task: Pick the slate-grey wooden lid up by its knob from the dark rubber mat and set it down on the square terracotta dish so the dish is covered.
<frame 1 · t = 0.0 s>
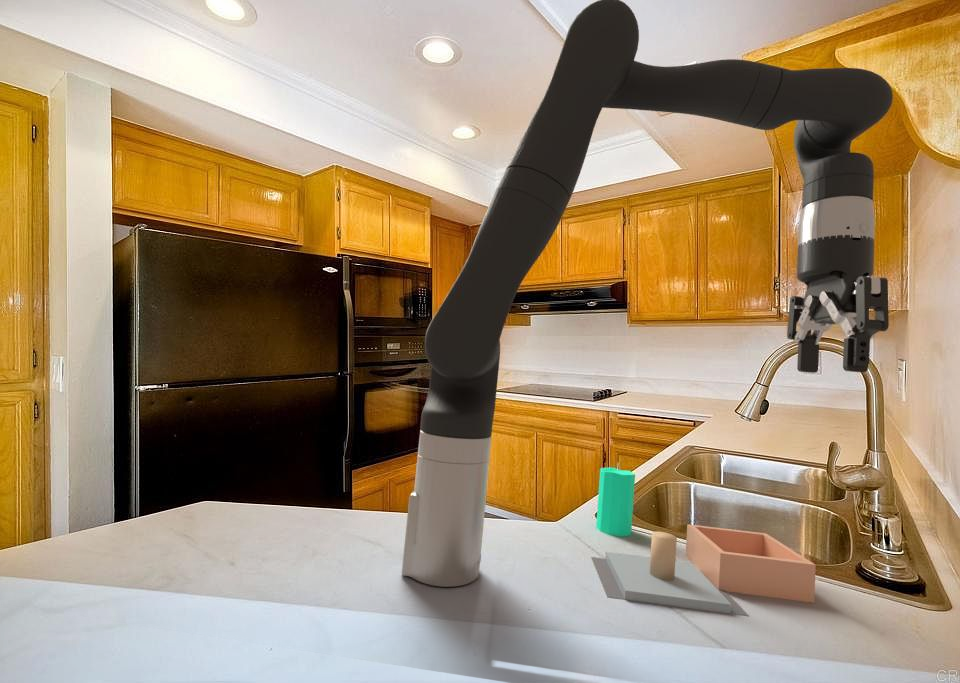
hand: (829, 372, 56), 29 cm above the worktop, tool pointing down, fingers open, 8 cm apart
mat: (661, 586, 59), on the worktop
lid: (661, 583, 59), resting on mat
candle: (613, 533, 79), on the worktop
dish: (743, 579, 64), on the worktop
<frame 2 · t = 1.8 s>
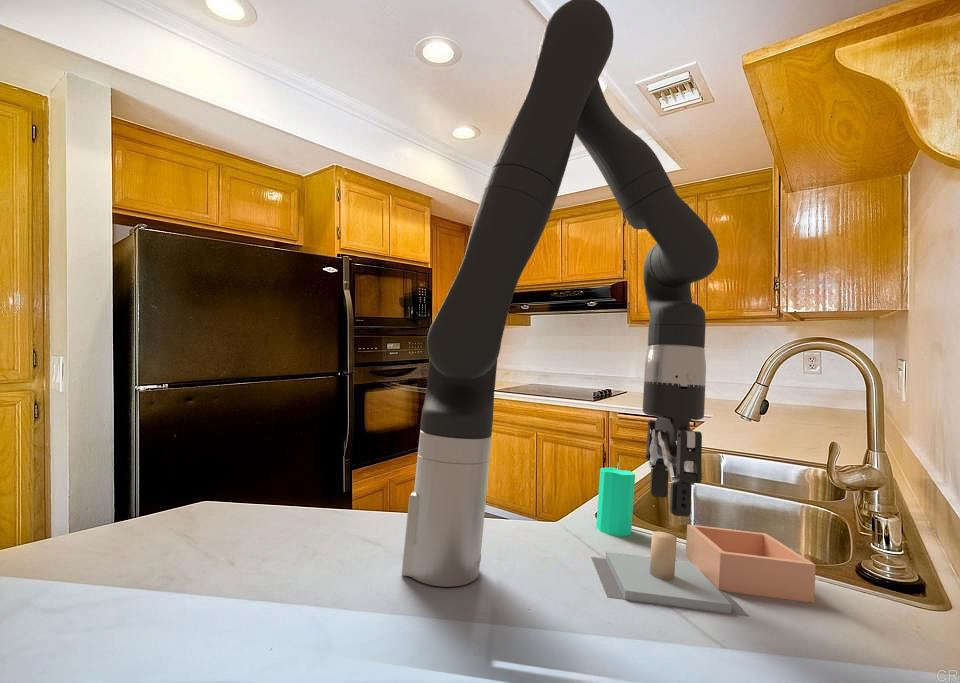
hand: (668, 505, 60), 10 cm above the worktop, tool pointing down, fingers open, 8 cm apart
nothing on the worktop moved.
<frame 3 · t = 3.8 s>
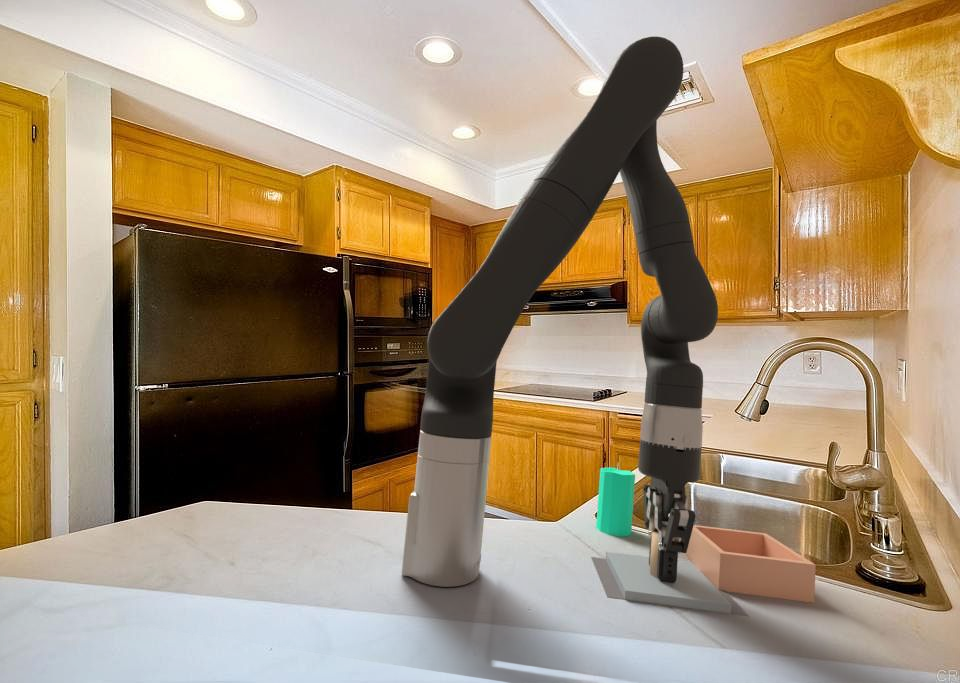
hand: (661, 574, 59), 2 cm above the worktop, tool pointing down, fingers closed on lid, 3 cm apart
lid: (661, 583, 59), resting on mat, touching gripper
everything else where it was.
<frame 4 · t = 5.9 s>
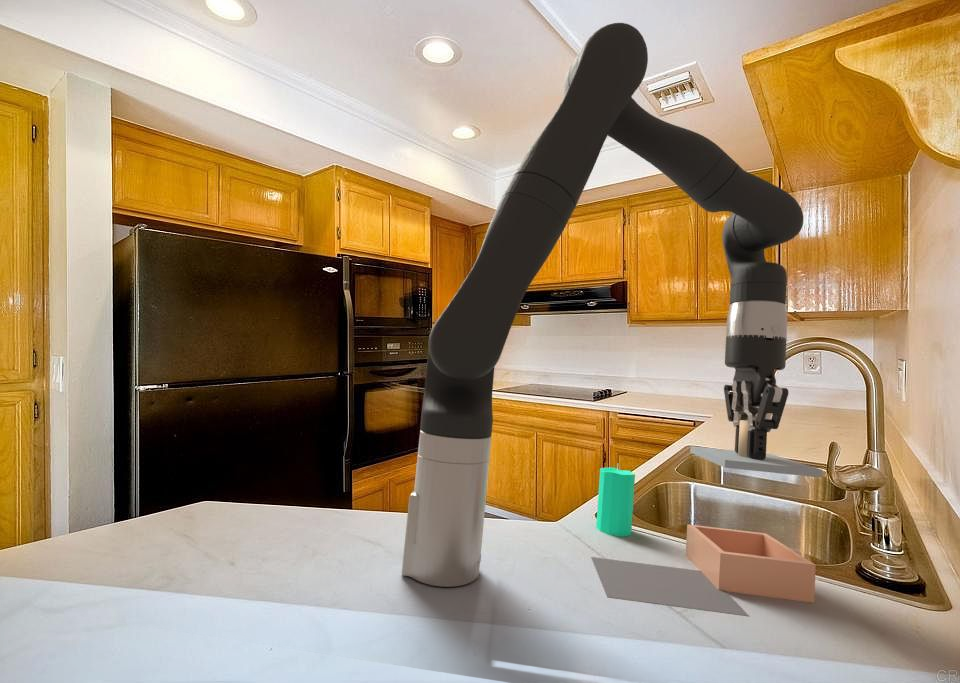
hand: (749, 455, 65), 17 cm above the worktop, tool pointing down, fingers closed on lid, 3 cm apart
lid: (749, 463, 65), point 16 cm above the worktop, touching gripper
everything else where it was.
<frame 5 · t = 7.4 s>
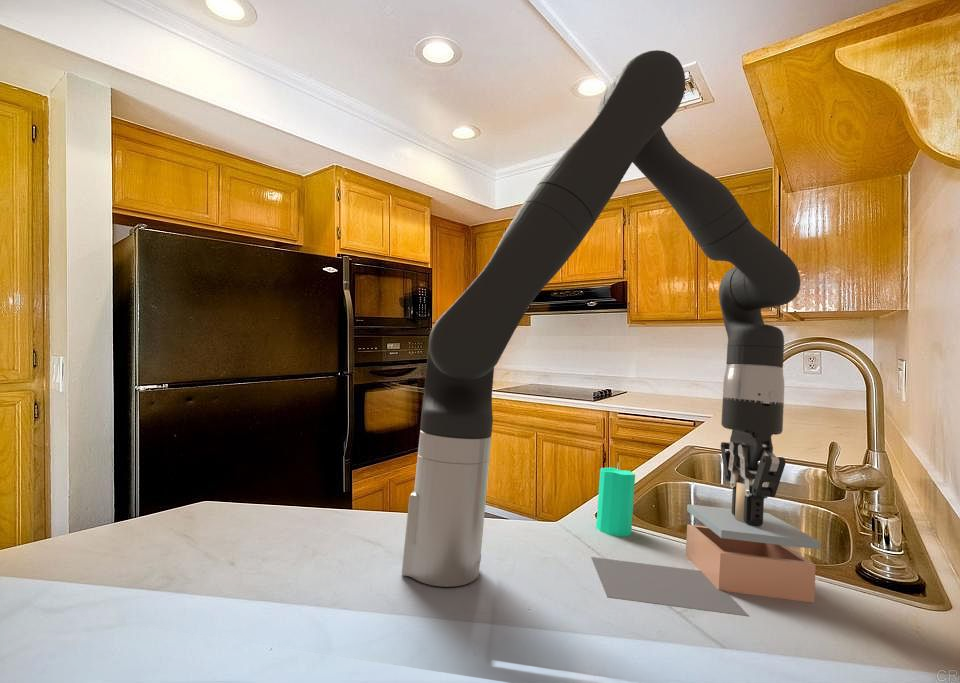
hand: (746, 519, 64), 8 cm above the worktop, tool pointing down, fingers closed on lid, 3 cm apart
lid: (746, 528, 64), point 7 cm above the worktop, touching gripper
everything else where it was.
when the fingers open (7 cm above the worktop, at t = 8.3 s): lid stays where it is, resting on dish.
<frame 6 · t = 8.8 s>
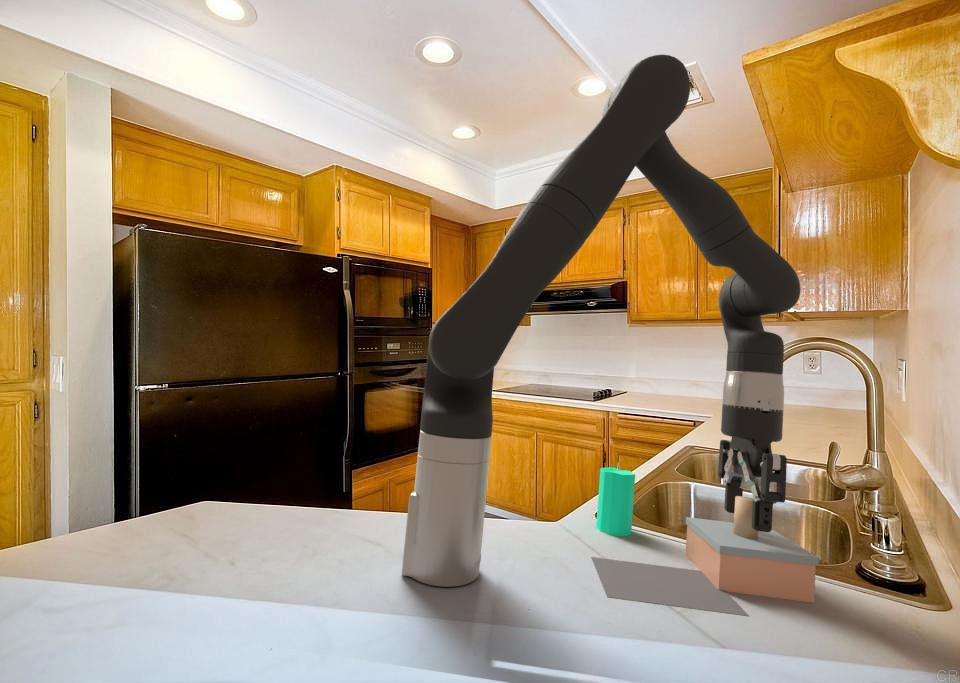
hand: (746, 521, 64), 8 cm above the worktop, tool pointing down, fingers open, 7 cm apart
lid: (745, 542, 64), point 5 cm above the worktop, touching dish
everything else where it was.
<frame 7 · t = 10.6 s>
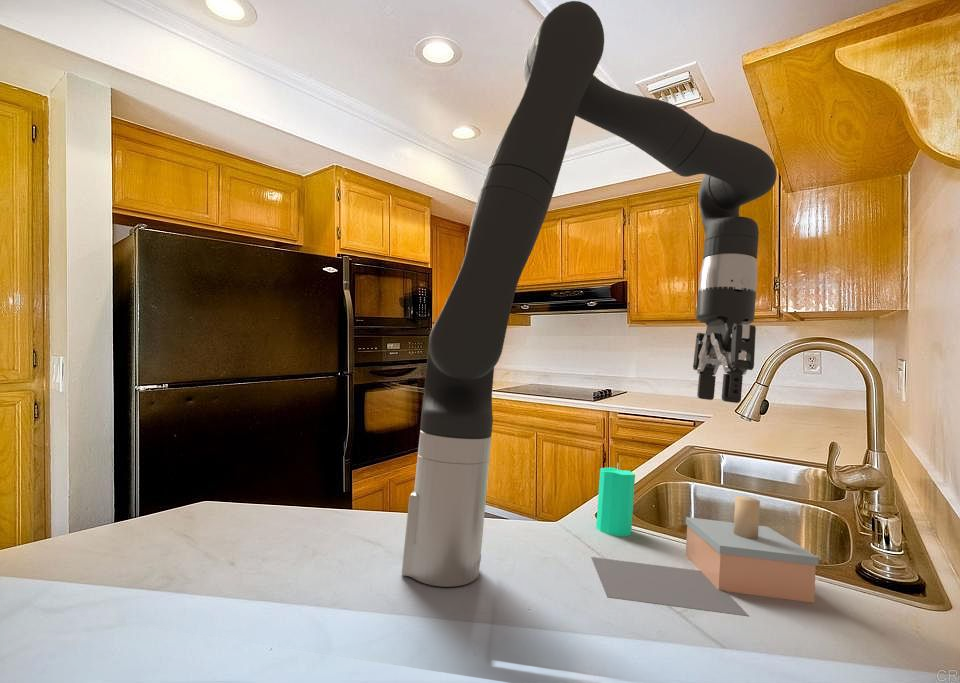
hand: (717, 400, 66), 24 cm above the worktop, tool pointing down, fingers open, 8 cm apart
nothing on the worktop moved.
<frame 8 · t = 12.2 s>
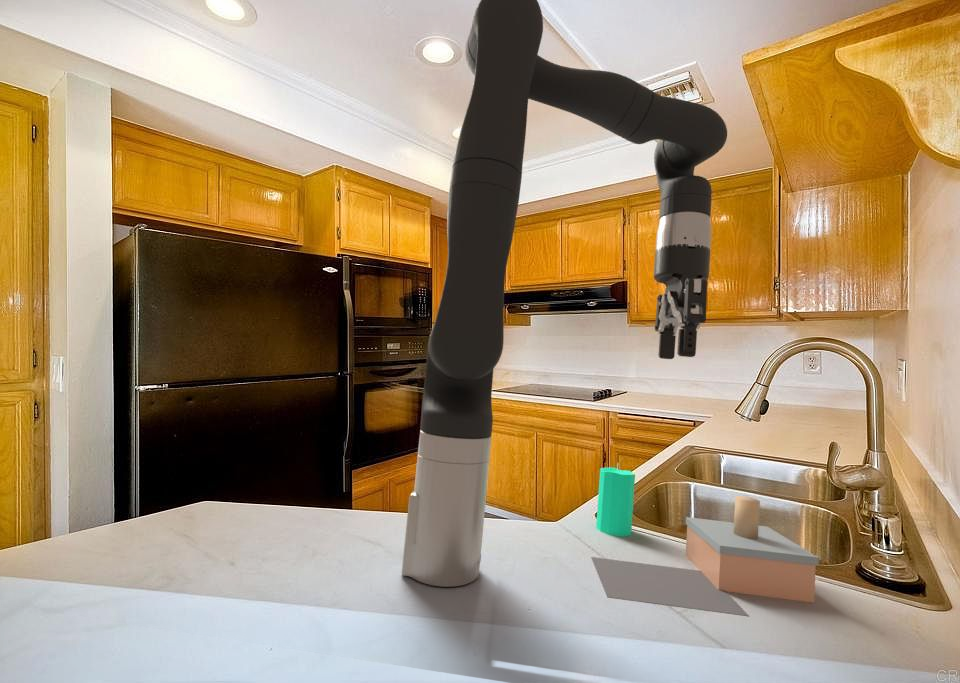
hand: (675, 357, 67), 30 cm above the worktop, tool pointing down, fingers open, 8 cm apart
nothing on the worktop moved.
at the end: lid 0.0 cm off-centre on the dish, point 5.0 cm above the dish's base; the gripper is holding nothing; lid tilted 0° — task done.
